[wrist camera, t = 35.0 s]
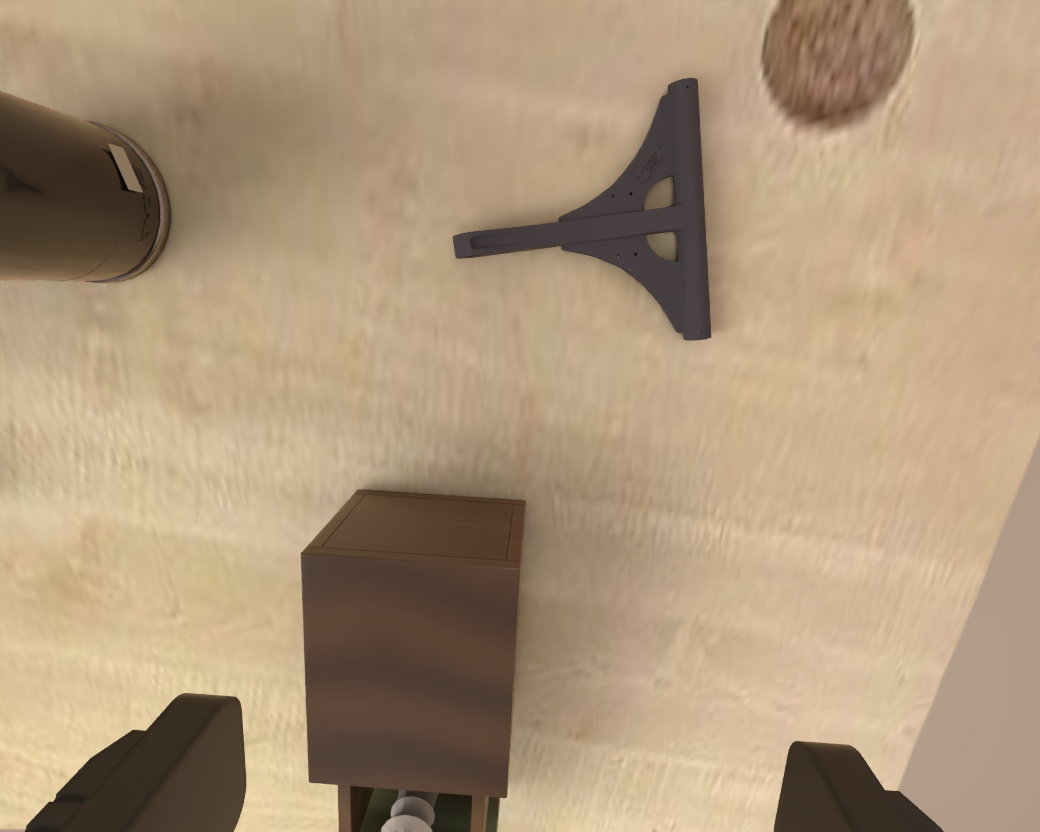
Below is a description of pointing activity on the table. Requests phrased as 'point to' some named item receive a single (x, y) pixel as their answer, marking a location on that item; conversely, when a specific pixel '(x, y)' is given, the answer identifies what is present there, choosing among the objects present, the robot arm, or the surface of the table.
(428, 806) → the rook chess piece
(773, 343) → the table surface
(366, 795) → the drawer
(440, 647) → the cabinet
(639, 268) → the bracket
